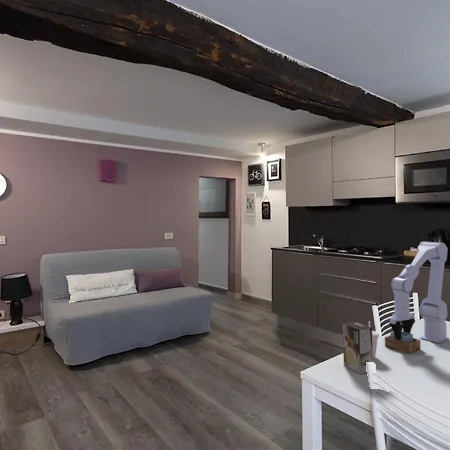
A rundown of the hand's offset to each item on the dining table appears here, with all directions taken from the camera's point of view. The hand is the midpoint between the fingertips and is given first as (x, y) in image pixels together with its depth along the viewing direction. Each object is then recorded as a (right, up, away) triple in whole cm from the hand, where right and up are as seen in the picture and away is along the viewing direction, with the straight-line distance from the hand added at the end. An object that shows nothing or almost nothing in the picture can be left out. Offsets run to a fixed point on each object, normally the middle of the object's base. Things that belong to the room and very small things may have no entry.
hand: (402, 337), depth 149 cm
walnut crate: (0, -4, 0) cm, 4 cm away
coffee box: (-26, -6, -19) cm, 32 cm away
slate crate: (0, -4, 0) cm, 4 cm away
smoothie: (-17, -5, -8) cm, 20 cm away
